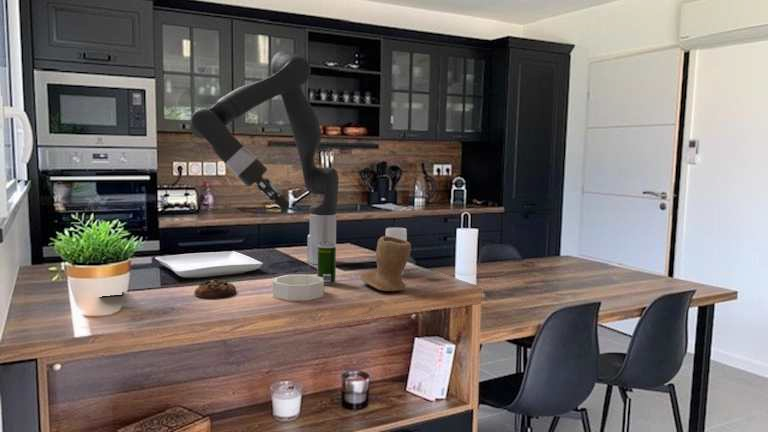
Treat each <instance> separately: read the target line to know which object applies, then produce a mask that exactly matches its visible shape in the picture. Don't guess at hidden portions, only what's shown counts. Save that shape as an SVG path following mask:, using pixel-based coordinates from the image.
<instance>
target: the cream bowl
mask: <svg viewBox="0 0 768 432" xmlns="http://www.w3.org/2000/svg"><path fill="white" fill-rule="evenodd" d="M324 286H325V285H324V281H323V278H322V277H318V276H317V275H314V274H285V275H281V276H277V277H276V276H275V277H273V279H272V298H275V299H280V300H283V301H287V302H288V301H289V302H293V301H311V300H316V299H319V298H321V297H324V295H325V294H324Z"/></svg>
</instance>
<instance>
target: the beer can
mask: <svg viewBox="0 0 768 432" xmlns="http://www.w3.org/2000/svg"><path fill="white" fill-rule="evenodd" d="M318 244H319V245H318V258H317V264H316V265H317V266H316V267H317V268H316V269H317V271H316V276H318V277H322V278H323V281H324V286H331V285H335V283H336V277H337V275H336V274H337V273H336V272H337V271H336V268H337V267H336V265H337V262H336V261H337V260H336V259H337V245H336V246H335V243H333V242H320V243H318Z"/></svg>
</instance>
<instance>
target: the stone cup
mask: <svg viewBox="0 0 768 432" xmlns="http://www.w3.org/2000/svg"><path fill="white" fill-rule="evenodd" d="M376 245H377V246H376V250H375V251H376V252H375V259H376V266H377V267H376V271H369V272H364V273H362V274H360V275H359V276H358V278H359V279H360V280H361V281H362V282H363V283H365V284H367V285H369V286H370V287H372V288H374V289H375V290H379V291H383V292H396V291H397V292H399V291H403V290H405V289H406V288H407V286H406V284H405V283H404V282H403V280H402V276H403V275H402V272H403V270H404V269H405V267H406V266H407V263H408V261H409V258H410V255H411V251H412V244H411V243H410V242H409V241H405V240H402V239H397V238H394V237H388V236H384V235H383V236H381V237H379V239H378V241H377V244H376Z"/></svg>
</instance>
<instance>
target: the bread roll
mask: <svg viewBox="0 0 768 432" xmlns="http://www.w3.org/2000/svg"><path fill="white" fill-rule="evenodd" d="M236 291H237V287H236V286H235V285H234V284H233V283H231V282H228V281H225V280H224V279H221V280H219V279H216V278H215V279H211V280H210V279H209V280H205V281H203V282H201V283H200V284H199V285H198V286H197V287H196V288H195V289H194V293H193V294H194V295H195V296H196V297H197V298H202V299H211V300H212V299H213V300H215V299H216V298H217V299H225V297H226V298H229V296H230V297H231V296H233V294H234V295H235V294H236ZM217 299H216V300H217Z"/></svg>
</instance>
